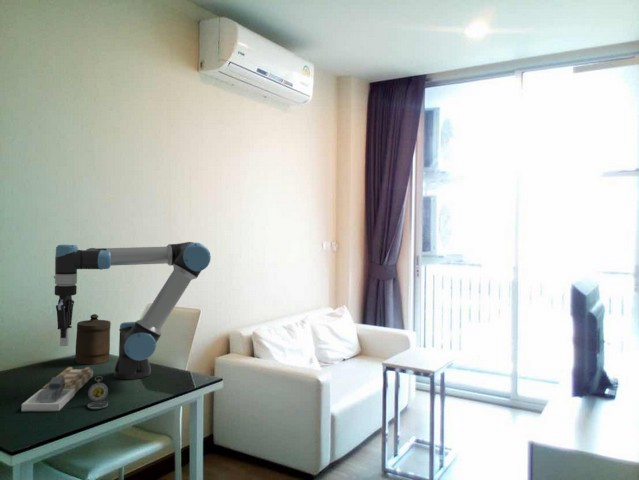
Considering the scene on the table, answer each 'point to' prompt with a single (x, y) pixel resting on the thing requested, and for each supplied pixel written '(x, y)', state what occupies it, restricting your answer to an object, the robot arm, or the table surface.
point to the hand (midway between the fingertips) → (64, 345)
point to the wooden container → (93, 341)
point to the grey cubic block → (48, 396)
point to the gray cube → (57, 382)
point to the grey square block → (56, 391)
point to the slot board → (74, 377)
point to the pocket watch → (98, 394)
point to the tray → (35, 404)
